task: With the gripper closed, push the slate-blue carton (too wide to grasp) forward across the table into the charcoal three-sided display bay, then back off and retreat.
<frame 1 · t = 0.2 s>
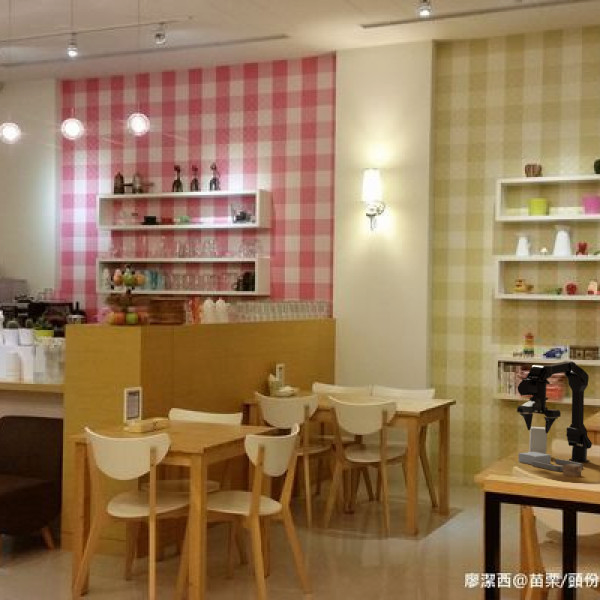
hand: (537, 431, 383), 14 cm above the table, fingers open, 9 cm apart
supplement box: (537, 455, 410), on the table
display bay: (556, 467, 381), on the table
carton: (534, 463, 390), on the table
walnut block: (571, 475, 364), on the table
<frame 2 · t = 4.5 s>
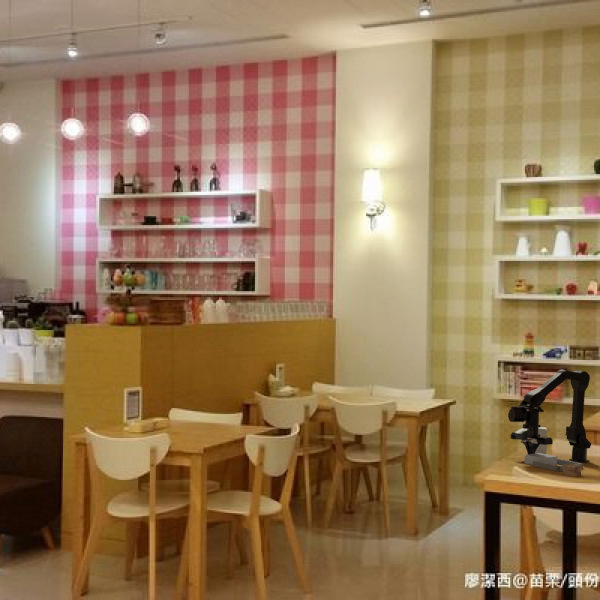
hand: (530, 458, 392), 1 cm above the table, fingers closed
carton: (540, 464, 387), on the table, touching gripper
everything else where it was.
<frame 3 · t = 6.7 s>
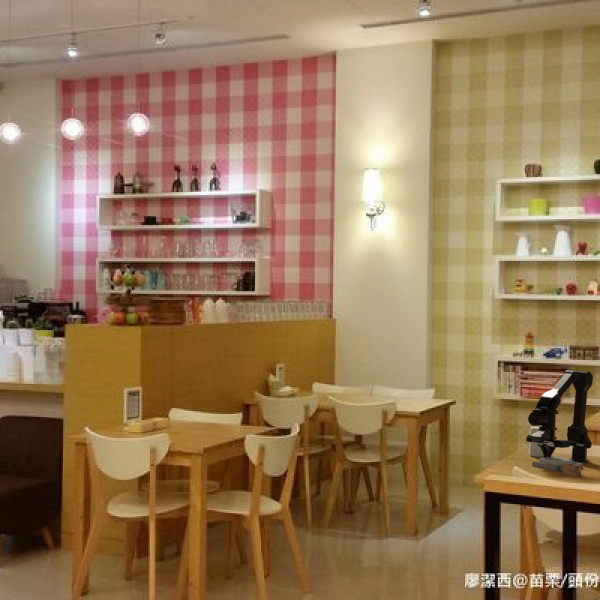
hand: (546, 461, 385), 2 cm above the table, fingers closed
carton: (555, 468, 379), on the table
everything else where it was.
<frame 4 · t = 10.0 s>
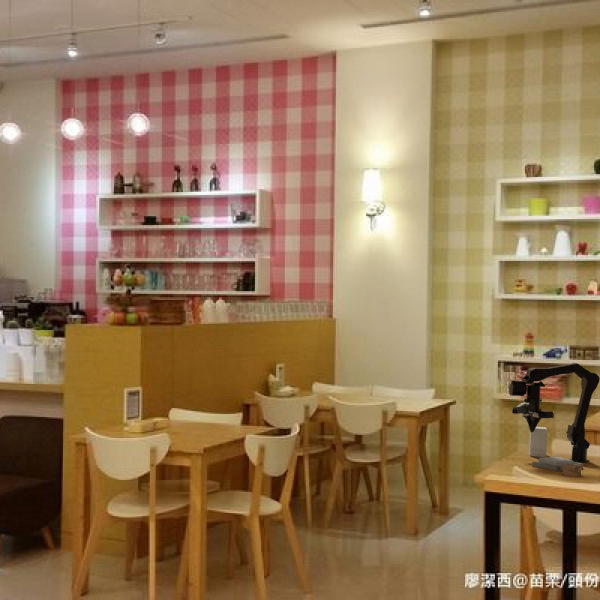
hand: (531, 432, 398), 12 cm above the table, fingers closed
nothing on the table moved.
at the end: carton 1.9 cm off-centre on the display bay, point 0.0 cm above the display bay's base; carton tilted 0°; carton moved 12.4 cm from its start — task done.
